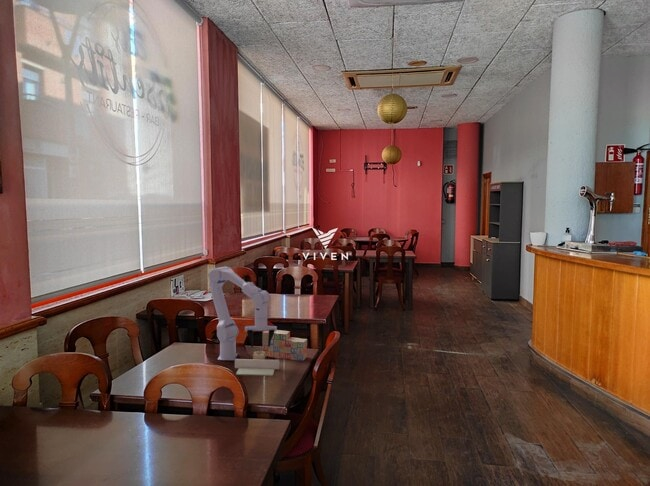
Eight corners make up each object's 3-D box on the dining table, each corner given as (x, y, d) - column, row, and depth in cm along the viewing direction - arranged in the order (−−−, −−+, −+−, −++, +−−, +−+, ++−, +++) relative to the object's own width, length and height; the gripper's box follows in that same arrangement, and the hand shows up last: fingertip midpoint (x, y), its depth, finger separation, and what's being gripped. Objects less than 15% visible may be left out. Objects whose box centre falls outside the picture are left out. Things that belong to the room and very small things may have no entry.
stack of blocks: (306, 357, 218) (307, 332, 217) (302, 361, 212) (303, 336, 211) (266, 352, 224) (267, 328, 223) (261, 356, 218) (262, 331, 217)
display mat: (238, 369, 199) (238, 368, 199) (274, 369, 199) (274, 368, 199) (236, 374, 192) (236, 373, 192) (273, 375, 192) (273, 374, 192)
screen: (235, 367, 201) (235, 358, 200) (279, 368, 201) (279, 359, 201) (234, 368, 200) (234, 359, 199) (279, 369, 200) (279, 360, 200)
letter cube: (254, 361, 209) (254, 351, 209) (264, 362, 209) (265, 351, 209) (252, 365, 204) (252, 354, 204) (263, 365, 204) (263, 354, 204)
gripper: (244, 319, 199) (244, 348, 200) (276, 319, 201) (276, 348, 202) (245, 315, 207) (245, 344, 207) (276, 315, 208) (276, 344, 209)
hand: (260, 346), depth 205 cm, fingers open, 7 cm apart
